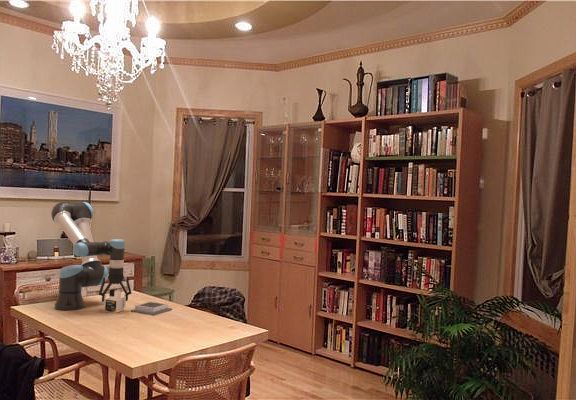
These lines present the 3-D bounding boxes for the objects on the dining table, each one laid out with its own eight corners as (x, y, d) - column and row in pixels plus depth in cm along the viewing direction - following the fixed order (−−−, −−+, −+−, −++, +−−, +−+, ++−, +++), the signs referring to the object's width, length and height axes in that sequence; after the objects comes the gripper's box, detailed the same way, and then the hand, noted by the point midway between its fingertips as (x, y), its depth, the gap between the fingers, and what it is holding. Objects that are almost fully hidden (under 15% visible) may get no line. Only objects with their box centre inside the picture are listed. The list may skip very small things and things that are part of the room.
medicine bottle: (104, 311, 259) (105, 290, 259) (113, 309, 265) (114, 287, 265) (115, 313, 256) (116, 291, 257) (123, 310, 263) (124, 289, 263)
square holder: (130, 311, 262) (131, 305, 262) (149, 306, 276) (149, 300, 276) (154, 315, 255) (154, 309, 255) (172, 309, 270) (172, 304, 270)
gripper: (94, 268, 253) (92, 309, 253) (138, 267, 262) (136, 307, 262) (94, 266, 260) (92, 306, 260) (136, 266, 269) (135, 304, 269)
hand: (114, 307), depth 261 cm, fingers closed on medicine bottle, 10 cm apart
